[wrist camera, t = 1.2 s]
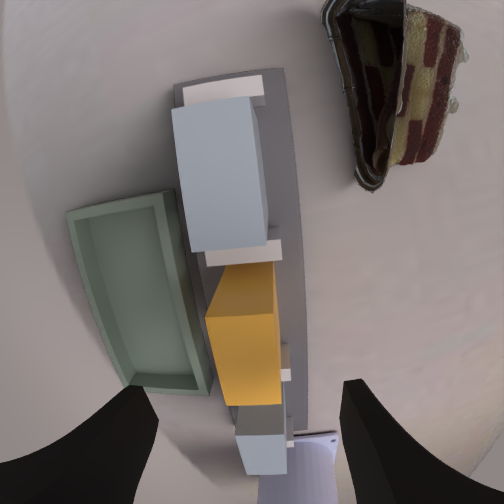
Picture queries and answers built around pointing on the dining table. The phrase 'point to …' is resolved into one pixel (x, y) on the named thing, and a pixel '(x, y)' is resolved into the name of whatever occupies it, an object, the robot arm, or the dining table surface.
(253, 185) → the block
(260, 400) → the block
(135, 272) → the tray
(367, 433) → the robot arm
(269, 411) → the block
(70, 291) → the dining table surface
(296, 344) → the block
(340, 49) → the chocolate cake
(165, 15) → the dining table surface
